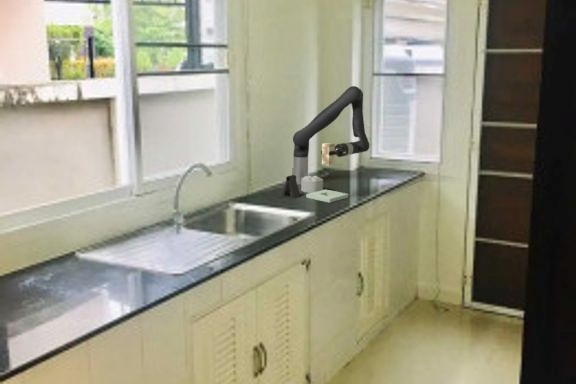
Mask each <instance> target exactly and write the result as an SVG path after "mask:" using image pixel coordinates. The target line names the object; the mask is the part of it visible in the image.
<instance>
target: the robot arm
mask: <svg viewBox="0 0 576 384" xmlns="http://www.w3.org/2000/svg"><path fill="white" fill-rule="evenodd" d="M363 101H364V93H363V91H362V89H361V88H359V87H358V86H355V85H352V86H350V87H347V89H346V90H345V91H344V92H343V93H342V94H341V95H340V96H339V97H338V98H336V100H334V101H333V102H332V103H330V104H329V105H328V106H327V107H325V108H324V109H323V110H321V111H320V112H319V113H318V114H317V115H316V116H315V117H313V119H312V120H311V121H310V122H309V123H308V124H307V125H306V126H304V127H303V128H301V129H300V130H298V131H296V132H295V133H294V135H293V137H292V142H293V144H294V146H293V147H294V148H293V163H292V164H293V167H292V168H291V175H295V176H296V182H297V185H298V186H299V185H300V186H301V179H302V178H303V177H305V176H309V151H310V140H311V139H312V138H313V137H314V136H315V135H316V134H318V133H319V132H322V131H323V130H324V129H325V128H327V127H328V126H330V125H331V124H332V123H333V122H335V120H337V119H338V117H339V116H340V115H341V113H342V112H343V111H344V109H346V107H348V106H349V105H351V107H352V108H351V109H352V121H351V124H352V125H351V126H352V132H353V133H352V135H353V136H354V137H355V138H359V140H357V141H350V142H341V143H337V144H335V150H334V151H330V152H329V156H331V155H335V156H337V157H339V158H342V157H346V156H347V157H348V156H350V155H354V154H361V153H366V152H368V151H369V149H370V142H369V140H368V137H367V135H366V129H365V122H364V112H363V110H364V108H363V107H364V106H363V104H364V102H363ZM320 155H322V149H321V151H320Z"/></svg>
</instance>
